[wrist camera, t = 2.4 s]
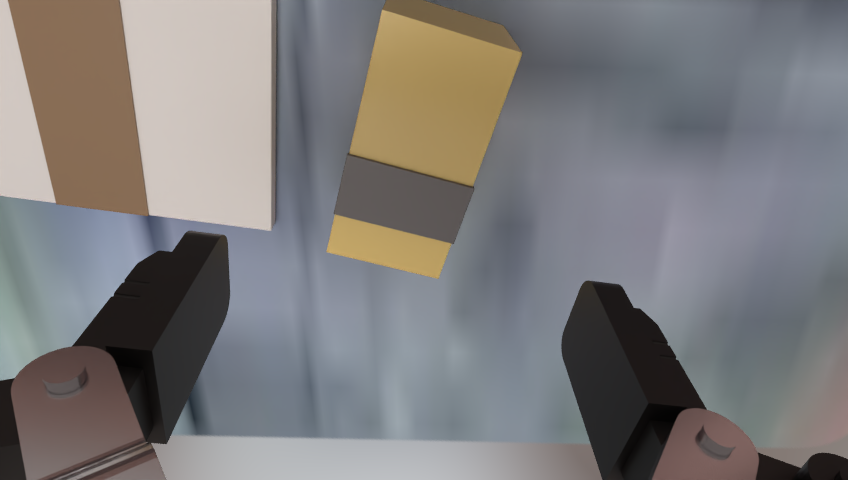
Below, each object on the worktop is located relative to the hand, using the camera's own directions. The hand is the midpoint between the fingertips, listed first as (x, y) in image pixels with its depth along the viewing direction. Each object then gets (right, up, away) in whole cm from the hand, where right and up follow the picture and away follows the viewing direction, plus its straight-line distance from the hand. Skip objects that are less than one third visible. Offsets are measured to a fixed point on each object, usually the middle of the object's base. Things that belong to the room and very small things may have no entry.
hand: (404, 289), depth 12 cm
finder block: (0, +6, +11) cm, 13 cm away
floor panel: (-12, +8, +10) cm, 17 cm away
